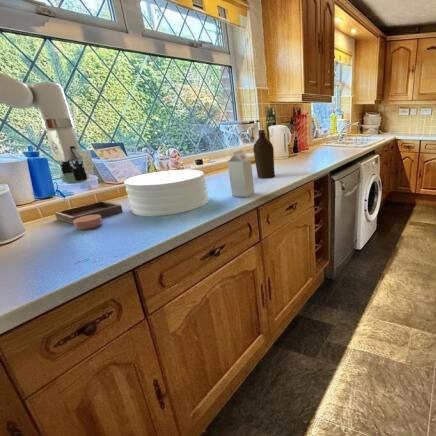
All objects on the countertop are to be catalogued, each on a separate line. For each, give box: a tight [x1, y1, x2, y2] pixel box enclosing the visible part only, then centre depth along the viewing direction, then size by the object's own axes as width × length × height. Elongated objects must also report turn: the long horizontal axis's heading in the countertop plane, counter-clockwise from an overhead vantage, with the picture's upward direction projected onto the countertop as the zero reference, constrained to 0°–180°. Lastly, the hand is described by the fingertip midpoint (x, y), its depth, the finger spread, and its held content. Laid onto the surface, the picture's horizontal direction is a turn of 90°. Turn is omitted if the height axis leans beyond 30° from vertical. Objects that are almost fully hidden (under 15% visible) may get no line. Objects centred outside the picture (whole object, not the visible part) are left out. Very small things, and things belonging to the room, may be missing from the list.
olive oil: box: [252, 129, 276, 179], centre depth 163 cm, size 11×11×25 cm
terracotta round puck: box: [73, 215, 104, 231], centre depth 100 cm, size 7×7×3 cm
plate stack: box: [123, 169, 209, 217], centre depth 120 cm, size 28×28×12 cm
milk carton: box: [227, 149, 255, 198], centre depth 129 cm, size 7×7×19 cm
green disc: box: [59, 170, 91, 185], centre depth 102 cm, size 7×7×3 cm
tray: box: [54, 200, 124, 226], centre depth 111 cm, size 16×14×3 cm
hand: (75, 178), depth 102 cm, fingers closed on green disc, 7 cm apart
